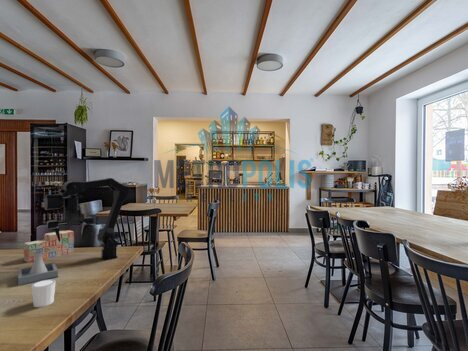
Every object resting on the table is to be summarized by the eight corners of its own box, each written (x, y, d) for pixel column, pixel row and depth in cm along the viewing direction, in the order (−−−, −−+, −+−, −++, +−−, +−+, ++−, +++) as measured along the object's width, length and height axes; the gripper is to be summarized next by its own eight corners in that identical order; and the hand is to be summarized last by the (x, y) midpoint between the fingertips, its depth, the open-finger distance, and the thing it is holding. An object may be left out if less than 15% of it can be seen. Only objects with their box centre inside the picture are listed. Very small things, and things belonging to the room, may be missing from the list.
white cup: (39, 298, 93) (39, 279, 93) (60, 297, 93) (59, 278, 93) (26, 308, 86) (26, 287, 86) (47, 307, 86) (47, 287, 86)
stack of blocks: (28, 263, 129) (28, 238, 129) (23, 260, 133) (23, 237, 133) (74, 252, 147) (74, 231, 147) (69, 250, 150) (69, 229, 150)
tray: (54, 268, 122) (54, 262, 122) (57, 277, 112) (57, 270, 112) (17, 275, 113) (17, 269, 113) (18, 285, 103) (18, 278, 103)
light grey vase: (29, 279, 107) (29, 256, 107) (25, 275, 112) (25, 252, 112) (50, 274, 113) (50, 252, 113) (46, 270, 118) (45, 248, 117)
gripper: (48, 211, 111) (48, 247, 112) (96, 207, 124) (96, 240, 124) (46, 208, 120) (46, 242, 120) (91, 205, 132) (91, 235, 132)
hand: (71, 240), depth 124 cm, fingers open, 9 cm apart
